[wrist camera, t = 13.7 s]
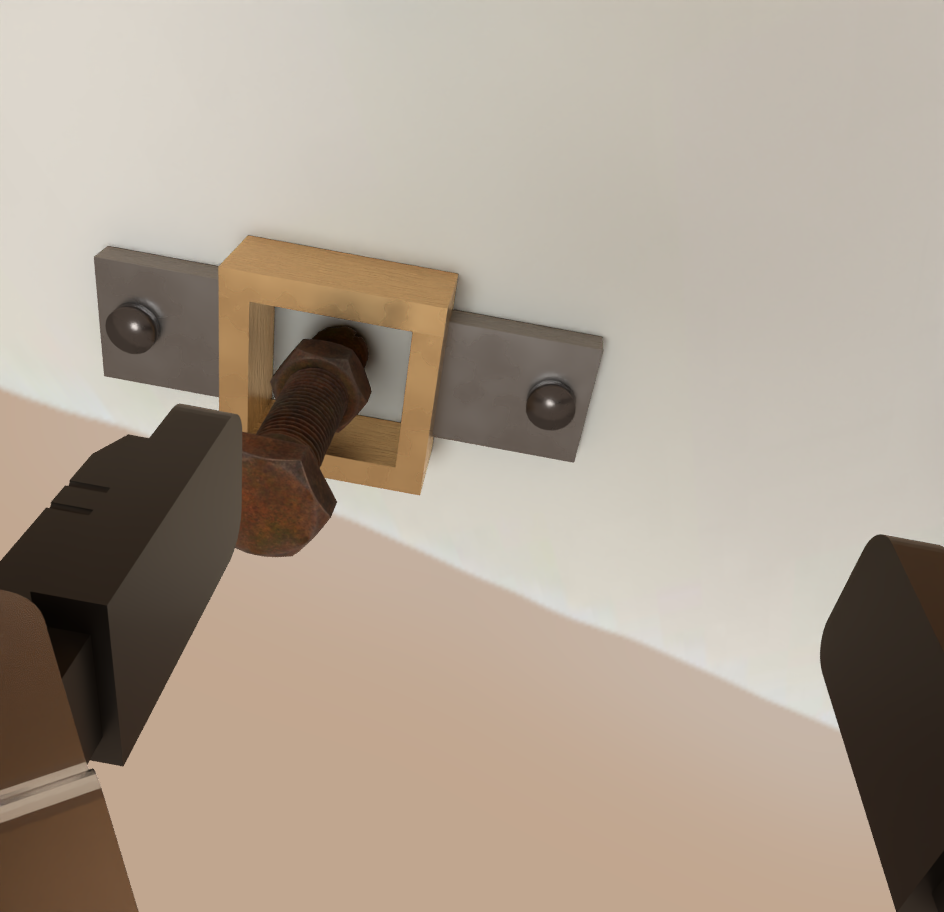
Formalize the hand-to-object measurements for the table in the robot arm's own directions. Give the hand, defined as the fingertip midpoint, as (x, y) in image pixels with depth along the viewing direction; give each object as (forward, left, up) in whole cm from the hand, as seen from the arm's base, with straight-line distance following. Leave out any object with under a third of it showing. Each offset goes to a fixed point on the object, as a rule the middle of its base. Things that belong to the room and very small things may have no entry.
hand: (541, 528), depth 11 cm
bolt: (+9, +16, -34) cm, 39 cm away
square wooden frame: (+9, +16, -34) cm, 39 cm away
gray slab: (+18, +16, -34) cm, 42 cm away
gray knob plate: (0, +16, -34) cm, 38 cm away
